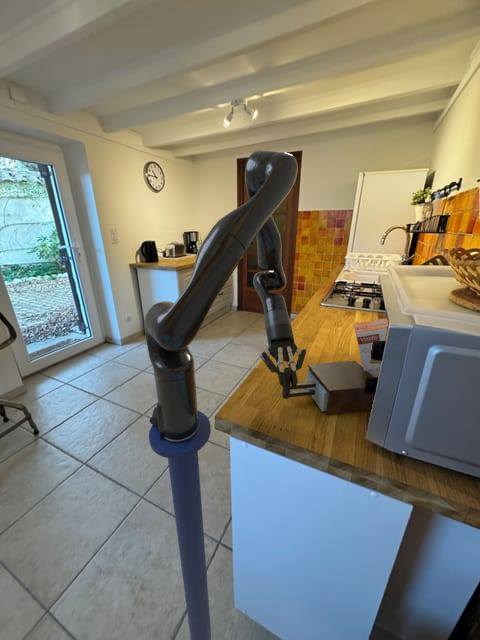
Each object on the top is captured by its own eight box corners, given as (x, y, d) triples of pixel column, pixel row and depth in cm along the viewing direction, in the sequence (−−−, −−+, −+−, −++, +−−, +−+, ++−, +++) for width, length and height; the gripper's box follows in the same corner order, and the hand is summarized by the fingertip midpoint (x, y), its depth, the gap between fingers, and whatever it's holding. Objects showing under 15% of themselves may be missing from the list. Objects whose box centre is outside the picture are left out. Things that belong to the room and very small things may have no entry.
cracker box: (368, 391, 76) (355, 333, 69) (365, 378, 81) (352, 322, 74) (423, 387, 71) (415, 323, 63) (416, 373, 76) (408, 312, 68)
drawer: (288, 415, 67) (291, 381, 63) (276, 390, 77) (278, 359, 74) (368, 406, 70) (375, 373, 67) (346, 383, 81) (351, 354, 77)
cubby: (326, 414, 67) (329, 390, 65) (305, 385, 80) (308, 364, 77) (379, 409, 69) (384, 385, 67) (351, 381, 82) (355, 360, 80)
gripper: (257, 323, 71) (267, 386, 64) (304, 321, 73) (319, 381, 66) (253, 334, 78) (261, 391, 70) (296, 331, 80) (308, 387, 72)
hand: (289, 386), depth 68 cm, fingers closed on drawer, 2 cm apart
